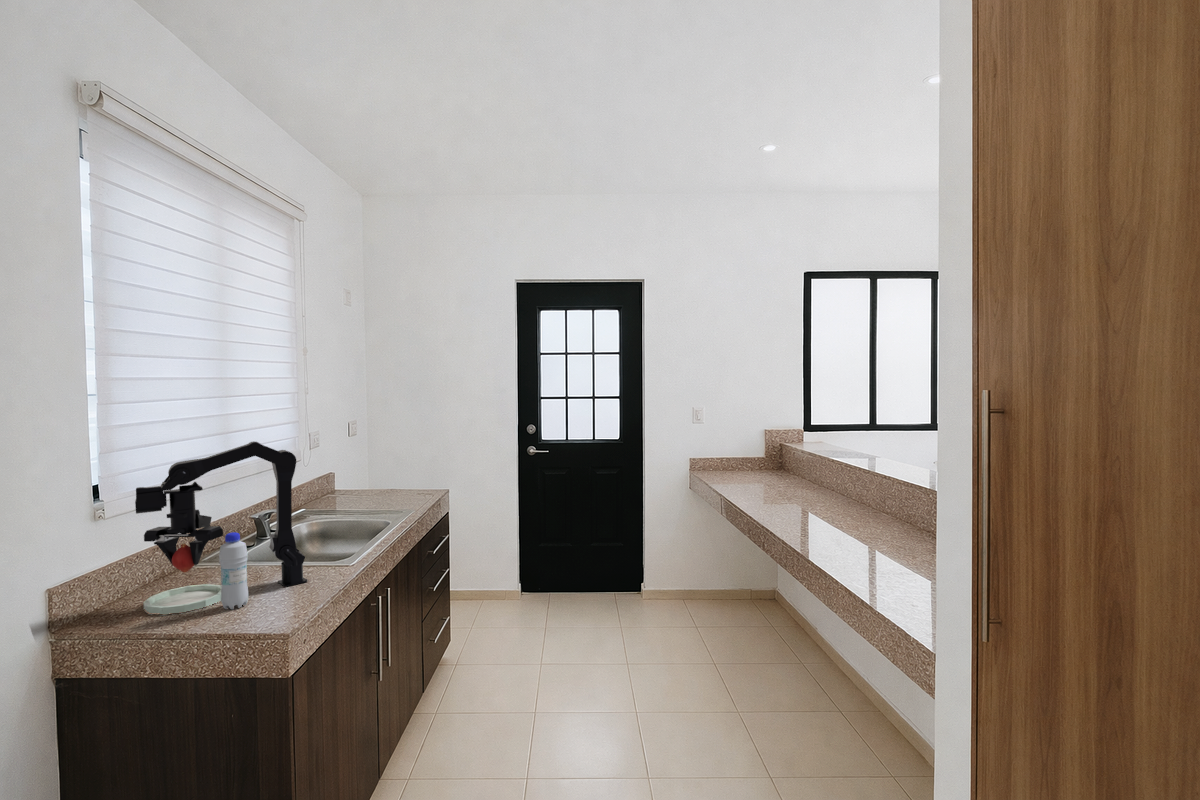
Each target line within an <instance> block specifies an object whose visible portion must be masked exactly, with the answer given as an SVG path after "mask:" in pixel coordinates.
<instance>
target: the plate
mask: <svg viewBox="0 0 1200 800" xmlns="http://www.w3.org/2000/svg"><path fill="white" fill-rule="evenodd" d="M221 589H222V584H210V583H205V584H204V583H203V584H195V585H192V584H191V585H185V586H181V587H176V588H172V589H167V590H164V591H161V592H159V593H156V594H153V595H152V596H151V595H150V596H149V597H148V598H147V599H145V601H143V610H144V609H145V610H146V611H147V612H149V613H160V614H169V613H179V612H186V611H190V610H194V609H199V608H203V607H206V606H209V605H211V606H213V605H212V604H214V603H216V604H218V603H220V602H219V601H221ZM217 602H218V603H217ZM214 605H215V604H214ZM209 607H210V606H209ZM203 609H204V608H203ZM145 610H144V611H145ZM199 610H200V609H199ZM146 611H145V612H146ZM147 612H146V613H147Z"/></svg>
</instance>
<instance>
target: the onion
mask: <svg viewBox="0 0 1200 800" xmlns="http://www.w3.org/2000/svg"><path fill="white" fill-rule="evenodd" d="M172 564H173V565H172ZM172 564H171V565H172V566H173V567H174V568H175V569H177V570H179V571H180V572H182V573H188V572H189V571H191V570H192V568H194V567H195V565H194V563H193V560H192V555H191V549H190V545H187V544H186V543H181V544H180V547H179V548H178V549H177V551H176V552H175V553H174V555H173V557H172Z"/></svg>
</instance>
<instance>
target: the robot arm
mask: <svg viewBox="0 0 1200 800" xmlns="http://www.w3.org/2000/svg"><path fill="white" fill-rule="evenodd" d="M252 457H258V458H260V459H261V460H264V461H267V462H269V463H271V464H272V471H273V473H274V479H275V483H276V484H275V485H276V488H275V489H276V491H275V492H276V495H275V496H276V497H275V498H276V503H275V505H276V528H275V531H274V533H269V540H270V544H269V546H268V548H269V549H270V550H271V551H272V553H273V554H274V556H275V558H277V560H280V561H282V562H281V564H280V565H281V566H280V567H281V568H280V569H281V579H280V580H277V583H278V584H279V585H281V586H283V587H286V588H287V587H291V586H294V585H295V586H296V585H299V584H303V583H307V582H308V581H309V579H307V578H305V577H304V566H303V565H304V562H305V560H306V559H305V558H306V556H305V555H304V554H303V552H302V551H300V549H298V548H297V543H296V538H295V535H294V532H293V526H292V525H293V523H292V521H293V520H292V517H293V513H292V512H293V511H292V510H293V508H292V504H293V503H292V495H293V494H292V490H293V489H292V487H293V486H292V483H293V482H292V481H293V479H294V475H295V471H296V466H297V457H296V456H295V453H293V452H290V451H288V450H286V449H280V450H276V449H275V448H272V447H269V446H266V445H264V444H262V443H260V442H258V441H250V442H248V443H246V444H244V445H240V446H237V447H234V448H232V449H228V450H225V451H221V452H219V453H215V454H213V455H210V456H206V457H203V458H196V459H190V460H189V459H188V460H181V461H177V462H175V463H173V464H172V465H171V466H170V467H169V469H168V472H167V473H168V476H167V477H165V479H164V480H163V481H162V483H161V485H159V486H157V485H156V486H155V485H154V486H147V487H145V486H140V487H136V488H135V500H134V501H135V502H134V504H135V514H136V515H137V514H145V513H153V512H155V513H156V512H162V510H163V509H164V508H165V507H167V506H168V505H167V504H168V503H167V502H168V501H167V495H168V494H169V513H167V514H166V519H170V526H157V527H154V528H151V529H148V530H146V531H145V532H144V534H143V542H144V543H145V542H153V544H154V545H156V546H157V547H158V548H159V549H160V550H161V552H162V553H163V554H164V555H165V556H166V558H167V560H168V561H169V563H170V564H171V566H173V564H172V557H173V555H174V553H175V552H176V551H177V550H178V549H177V544H178V542H179V539H180V538H194V540H193V541H190V542H189V543H188V544H189V545H188V546H189V547H190V549H191V555H192V560H193V563H194V566H197V565H199V563H200V560H201V557H202V554H203V552H204V549H205V547H206V545H207V543H209V542H210V541H213V540H215V539H219V538H221V537H223V536H224V529H223V528H222V527H221V526H220V525H215V526H214V525H211V523H212V516H209V515H205V514H204V515H203V514H200V513H201V512H200V510H199V509H196V493H195V492H200V491H203V486H201V485H200V484H198V482H197V481H195V480H197V479H199V478H201V477H203V476H204V475H205V474H207V473H209V472H211V471H214V470H217V469H220V468H222V467H227V466H228V465H229V466H230V465H232V464H235V463H238V462H241V461H243V460H246V459H249V458H252ZM191 482H192V483H191ZM189 483H191V484H189ZM177 486H179V487H178V488H177V489H174V488H176V487H177Z"/></svg>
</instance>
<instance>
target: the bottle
mask: <svg viewBox="0 0 1200 800" xmlns="http://www.w3.org/2000/svg"><path fill="white" fill-rule="evenodd" d="M224 541H225V543H223V544H221V545H220V546H219V547H220V548H219V555H218V560H219V562H218V564H219V565H220V579H221V580H220V581H221V584H220V585H221V586H222V589H221V605H222V607H223V609H225V610H228V609H230V610H234V609H235V606H237V608H238V609H241V608H242V607H243V606H242V605H245V606H246V605H247V603H248V601H249V588H248V572H247V571H248V569H247V561H248V560H249V559H248V555H249V554H248V550H247V549H248V548H247V543H246V542H244V541H241V535H240V533H238V532H233V531H232V532H229V533H228V532H227V534H225V537H224ZM240 607H241V608H240ZM227 608H228V609H227Z"/></svg>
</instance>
